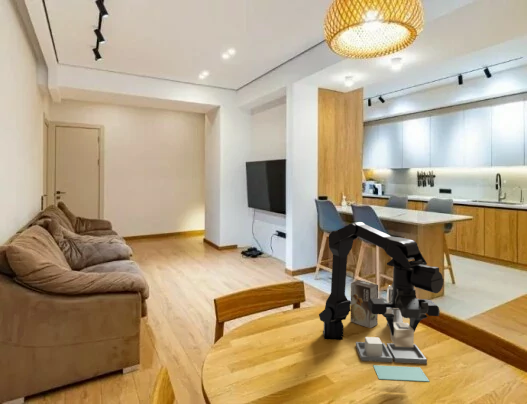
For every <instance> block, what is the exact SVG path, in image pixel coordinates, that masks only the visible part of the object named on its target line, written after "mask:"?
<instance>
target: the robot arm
mask: <svg viewBox="0 0 527 404" xmlns="http://www.w3.org/2000/svg"><path fill="white" fill-rule="evenodd" d="M359 238H360V239H363V240H364V241H366V242H368V243H371V244H373V245H374V246H377V247H379V248H380V249H382V250H384V252H385V254H386V255H387V256H389V257H390V258H391V260H390V261H388V262H387V263H386V265H387V266H389V267H393V268H392V269H393V270H392V283H391V285H392V287H393V297H391V300H392V303H387V302H385V301H384V300H383V298H378V299H375V298H370V299H369V301H368V308H369V309H370V311H371V312H372V314H378V315H382V316H383V317H385V320H386V321H387V322H386V324H387V323H388V325H387V326H388V328H389V333H390V332H391V334H392V336H394V322H393V319H394V315H393V314H392V310H400V312H401V315H402V317H403V318H404V319H409V325H410V326H411V327H412V328H413V330H414V333H415V332H416V330H417V328H418V326H419V324H420V322H421V321H422V320H424V319H427V318H428V317H439V316H440V311H441V309H440V307H439V306H438V305H437V304H436V303H435V302H433V300H431V299H425V298H424V299H422V298H417V294H416V293H417V292H416V289H420V290H423V291H427V292H430V293H433V294H438V293H440V292H441V291H442V289H443V287H444V280H445V279H444V277H443V274H442V273H441V271H440V267H438V266H430V265H427V264H428V263H427V260H426V259H425V257H424V256H423V254H422V253H421V251H420V249H419V246H418V243H417V242H416V241H415V240H413V239H410V238H404V237H399V236H398V237H397V236H391V235H390V234H387V233H386V232H383V231H381V230H378V229H376V228H374V227H371V226H370V225H367V224H365V223H364V222H362V221H358V222H357V221H356V222H354V221H353V222H350V223H349V224H348V225H346V226H344V227H342V228H339V229H337V230H332V231H331V232H330V233H329V234H328V248H329V250H330V252H331V254H332V265H331V281H330V282H331V285H330V287H331V288H330V293H329V295H328V297H327V298H326V301H325V305H324V309H323V310H322V311H321V312H320V313H319V314H318V318H319V320H320V321H321V322H322V323H323V330H322V334H323V335H322V336H323V339H324V340H332V341H335V340H336V341H337V340H338V341H343V337H344V324H343V323H344V322H343V321H345V320H346V319H347V316H349V314H350V313H351V299H350V300H349V299H348V298H347V296H346V284H347V283H346V281H347V266H348V255H349V254H350V252H351V251H352V249H353V244H354V241H355V240H356V239H359ZM415 288H416V289H415Z"/></svg>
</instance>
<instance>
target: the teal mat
mask: <svg viewBox="0 0 527 404" xmlns="http://www.w3.org/2000/svg"><path fill="white" fill-rule="evenodd" d="M372 367H373V369H374V371H375V373H376V376H377V378H378V380H385V381H402V382H403V381H404V382H424V383H425V382H426V383H430V380H429V378H428V377H427V375H426V374H425V373H424V371H423V369H422V368H421V367H420V366H419V367H418V366H398V365H377V364H376V365H374V364H373V366H372Z"/></svg>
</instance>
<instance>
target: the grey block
mask: <svg viewBox="0 0 527 404" xmlns="http://www.w3.org/2000/svg"><path fill="white" fill-rule="evenodd" d="M364 342H365V351H366V354H367V356H382V343H383V342H382V340H381V339H380V337H377V336H376V337H375V336H364Z"/></svg>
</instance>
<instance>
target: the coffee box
mask: <svg viewBox="0 0 527 404" xmlns="http://www.w3.org/2000/svg"><path fill="white" fill-rule="evenodd" d="M370 298H375V299H379V284H376V283H373V282H369V281H365V280H360V279H358V280H355V281H353V282H351V283H350V301H351V304H350V310H351V311H350V322H352V323H353V324H355V325H359V326H362V327H364V328H369V329H371V328H373V327H375V326H377V325H378V318H379V317H378V315H379V314H372V312H371V311H370V309H369V308H368V301H369V299H370Z"/></svg>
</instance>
